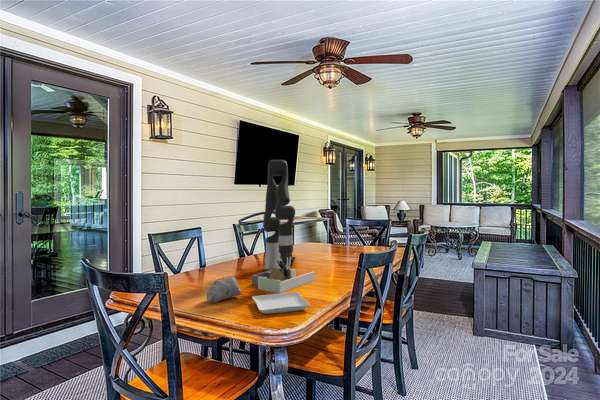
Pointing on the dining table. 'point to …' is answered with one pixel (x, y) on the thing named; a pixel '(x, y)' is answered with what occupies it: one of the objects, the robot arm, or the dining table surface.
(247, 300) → the dining table surface
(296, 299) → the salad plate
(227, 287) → the gray stone
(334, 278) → the dining table surface
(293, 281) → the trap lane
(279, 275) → the rock
